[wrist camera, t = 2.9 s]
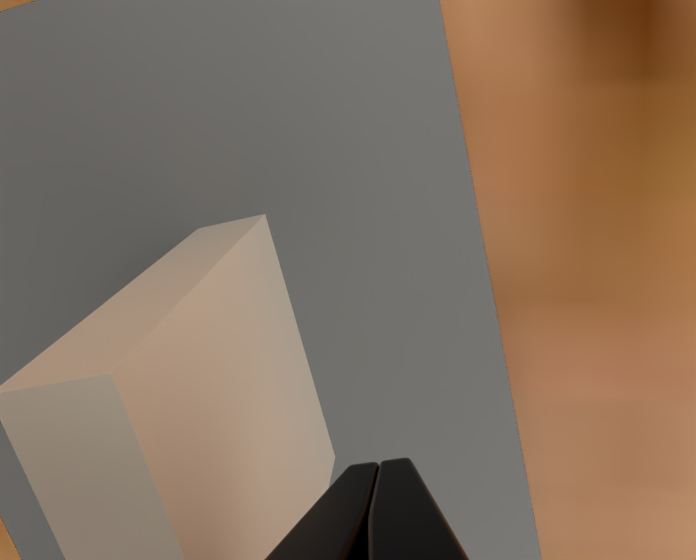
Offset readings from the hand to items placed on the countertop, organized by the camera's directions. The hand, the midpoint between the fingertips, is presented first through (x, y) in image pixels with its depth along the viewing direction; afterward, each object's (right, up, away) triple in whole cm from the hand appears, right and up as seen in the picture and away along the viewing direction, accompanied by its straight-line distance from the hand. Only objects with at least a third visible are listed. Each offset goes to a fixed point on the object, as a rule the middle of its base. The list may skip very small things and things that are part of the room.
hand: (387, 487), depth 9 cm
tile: (-2, +1, +6) cm, 6 cm away
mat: (-4, 0, +7) cm, 8 cm away
